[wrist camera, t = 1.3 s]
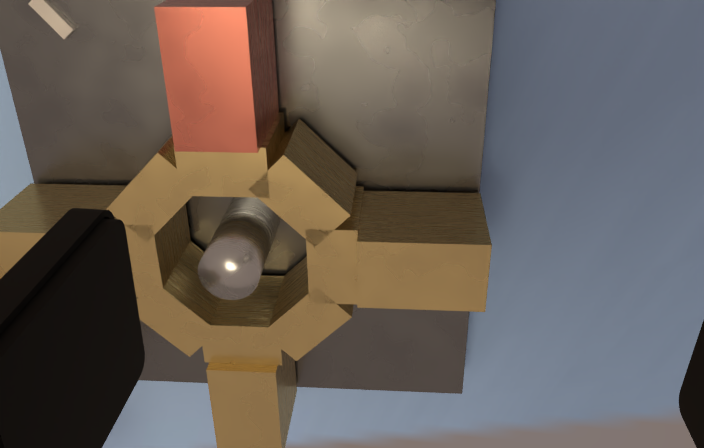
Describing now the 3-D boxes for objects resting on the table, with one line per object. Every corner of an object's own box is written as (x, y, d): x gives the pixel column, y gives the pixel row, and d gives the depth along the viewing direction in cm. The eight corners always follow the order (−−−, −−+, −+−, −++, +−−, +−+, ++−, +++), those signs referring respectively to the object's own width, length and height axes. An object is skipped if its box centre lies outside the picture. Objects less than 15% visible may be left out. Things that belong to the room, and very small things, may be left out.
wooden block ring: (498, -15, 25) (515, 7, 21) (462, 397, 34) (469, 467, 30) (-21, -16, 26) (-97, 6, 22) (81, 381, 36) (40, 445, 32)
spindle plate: (490, -26, 27) (516, 9, 21) (458, 361, 37) (470, 470, 30) (16, -26, 29) (-101, 7, 22) (102, 348, 38) (38, 449, 32)
